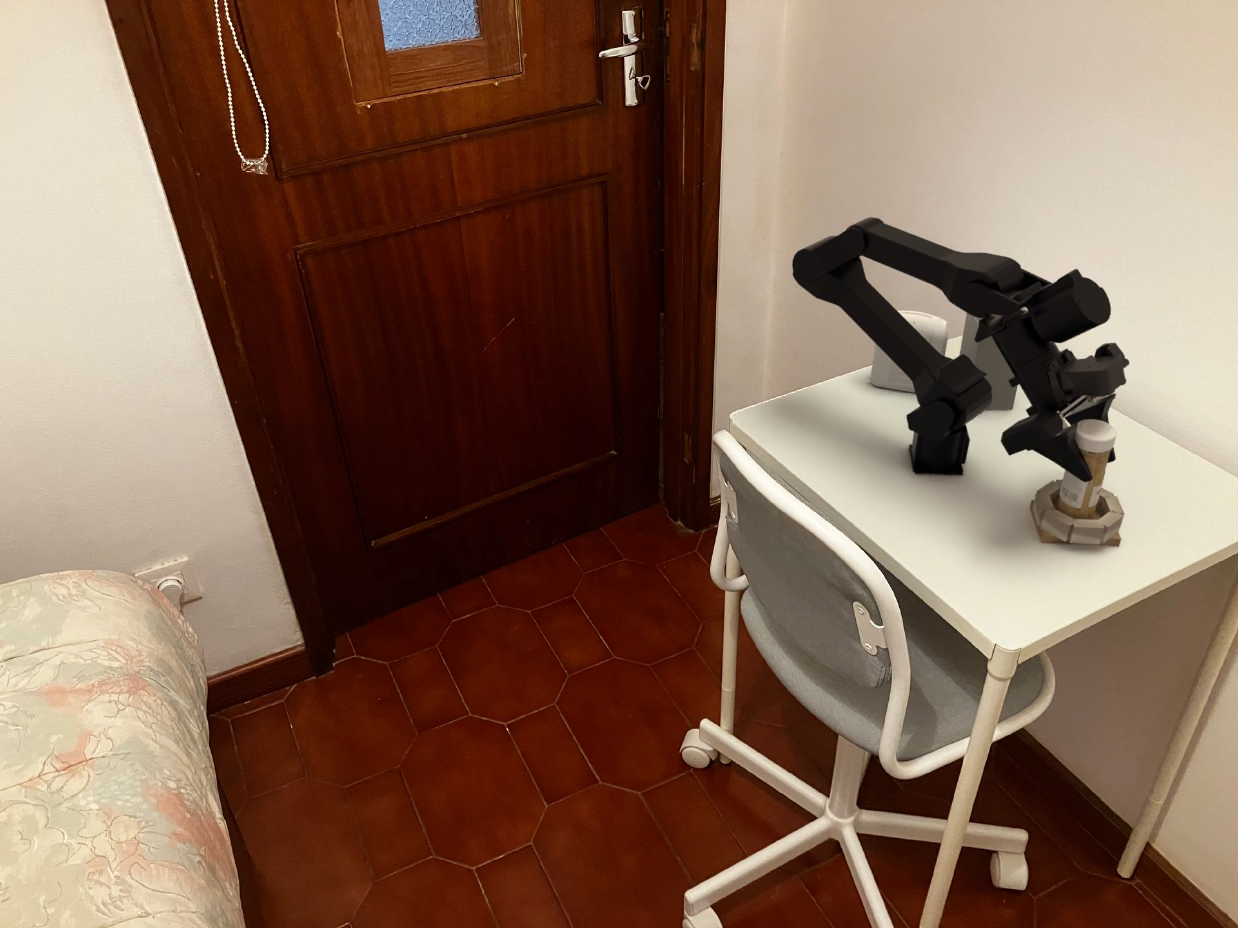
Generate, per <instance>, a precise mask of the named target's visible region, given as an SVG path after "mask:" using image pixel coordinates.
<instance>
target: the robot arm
mask: <svg viewBox="0 0 1238 928" xmlns="http://www.w3.org/2000/svg"><path fill="white" fill-rule="evenodd" d="M860 257H865V258H867V259H869V260H871V261H873V262H876V263H879V264H881V265H883V266H886V267H888V268H890V269H893V270H896V271H898V272H900V273H903V274H905V275H907V276H910V277H912V278H914V279H917V280H919V281H921V282H925V283H927V284H929V285H932V286H934V287H935V288H937V289H938V290H940V291H941V292H942V293H943V295H944V296H945V297H946V299H947V300H948V302H949V303H950V304H952V305H954V306H955V307H957V308H958V309H960V310H962V311H964V312H965V314H967V313H968V314H970V315H971V316H974V317H977V318H982V319H980V320H979V326H978V330H977V332H976V335H975V338H974V340H975V342H977V343H978V342H981V341H982V340H984V339H986V338H988V337H990V336H991V337H992V339H993V341H994V342H995V344H996V346H997V347H998V349H999V351H1000V353H1001V354H1002V356H1003V358H1004V359H1005V361H1006V363H1007V364H1008V366H1009V368H1010V370H1011V371H1012V373H1013V375H1014V377H1012V378H1011V379H1009V380H1008V381H1009V383H1010V385H1011V387H1012V388H1013V387H1015V386H1017V385H1018V386H1020V388H1021V389H1022V392H1023V394H1025V397H1026V398H1027V400H1028V402H1029V403H1030V406H1029V407H1027V408H1026V409H1025V412H1026V414H1027V415H1028V416H1027V417H1025V418H1022V419H1020V420H1017V421H1016V422H1015V423H1013V424H1012V425H1010V426H1009V427H1008V428H1007V429H1005V430H1004V431H1003V432H1001V433H1002V434H1001V438H1000V443H1001V444H1002V446H1003V448H1004V450H1005V452H1006V453H1007V455H1008V456H1009V457H1010V456H1013V455H1015V454H1017V453H1020V452H1023V451H1025V450H1026V451H1027V452H1030V451H1034V452H1035V453H1037V454H1039V455H1040V456H1042V457H1045V458H1046V459H1047V460H1049V461H1051V462H1053V463H1054V464H1056V465H1058V466H1059V467H1061V468H1062V469H1064V471H1065V470H1066V471H1068V472H1069V473H1071V474H1072V475H1074V476H1075V477H1077V478H1078V479H1080V480H1081V481H1083V482H1088V481H1091V480H1092V479H1093V477H1092V474H1091V472H1090V469H1089V467H1088V465H1087V463H1086V461H1085V459H1084V457H1083V455H1082V453H1081V451H1080V449H1079V446H1078V444H1077V442H1076V440H1075V435H1076V431H1077V426H1078V424H1077V423H1078V422H1080V421H1082V420H1087V419H1094V420H1100V421H1103V422H1106V423H1108V424H1110V421H1109V420H1110V419H1109V411H1110V408H1111V406H1112V404H1113V402H1114V400H1115V399H1116V397H1117V396H1116V395H1117V394H1116V393H1115V391H1116V390H1118V388H1119V387H1121V386H1124V385H1125V384H1127V379H1126V374H1125V370H1124V369H1125V368H1127V367H1128V366H1129V365H1130V361H1129V359H1128V358H1126V356H1125V354H1124V352H1123V351H1122V349H1121V348H1120V347H1119V346H1118V344H1117V343H1116V342H1106V343H1103V344H1101V345H1100V346H1099V347H1097V348H1096V350H1095V353H1094V355H1093V354H1092V355H1088V356H1087V357H1085V358H1077V357H1076V356H1075V355H1074V353H1073V351H1072V350H1069V348H1068V347H1067V348H1065V349H1063V350H1061V351H1060V349H1059V347H1058V346H1057V344H1063V343H1066V342H1068V341H1069V340H1072V339H1074V338H1077V337H1078V336H1081V335H1082V334H1084V333H1087V332H1089V331H1091V330H1094V329H1096V328H1098V327H1099V326H1101V325H1103V324H1105V323H1107V322H1108V321H1109V320H1110V318H1111V312H1112V307H1111V302H1110V299H1109V296H1108V294H1107V292H1106V290H1105V289H1104V287H1103V286H1100V285H1098V283H1097V282H1096V281H1094V280H1092V279H1091V278H1089V277H1086V276H1083V275H1082V273H1081V272H1080V269H1078V268H1074V269H1073V270H1071V271H1068V272H1067V273H1066V274H1064V275H1062V276H1061V277H1059V278H1058V279H1057V280H1056V281H1054V282H1051V281H1049V280H1047V279H1045V278H1043V277H1041V276H1039V275H1036V274H1034V273H1033V272H1030V271H1028V270H1026V269H1024V268H1022V266H1021V264H1020V263H1019V262H1018V261H1016V260H1015V259H1014V258H1012V257H1009V256H1005V255H1004V256H1003V255H999V254H994V253H989V252H963V251H958V250H955V249H951V248H949V247H946V246H943V245H941V244H939V243H936V242H934V241H931V240H929V239H927V238H923V237H921V236H918V235H915V234H913V233H910V232H908V231H906V230H902V229H900V228H898V227H895V226H892V225H890V224H887V223H885V222H884V221H883V220H882V219H881V218H879V217H873V216H870V217H866V218H864V219H862V220H860V221H857V222H856V223H852V224H851V225H849V226H848V227H847V228H846V230H844V231H842V232H841V233H840V234H838V235H829V236H827V237H825V238H822V239H821V240H819V241H816V242H814V243H813V244H810V245H808V246H805V247H803V248H802V249H799V250H797V252H795V254H794V256H793V258H792V265H791V267H792V277H793V279H794V281H795V282H796V283H797V284H798V286H799V287H801V288H802V289H803V290H805V291H806V292H807V293H809V294H810V295H811V296H812V297H814V298H815V299H818V300H819V301H820V300H821V301H823V302H826V303H828V304H831V305H835V306H837V307H839V308H840V309H841V310H842V311H843V312H844V313H845V314H846V315H847V316H848V318H850V319H851V320H852V321H853V322H854V323H855V324H856V325H857V326H858V328H860V330H862V331H863V332H864V333H865V334H866V335H867V336H868V338H870V340H872V342H873V343H874V344H875V343H876V344H877V345H878V347H879V348H880V349H881V350H882V351H883V352H884V353H885V354H886V355H887V356H888V357H889V358H890V359H891V360H892V361H893V362H894V363H895V364H896V365H897V366H898V367H899V368H900V369H901V370H902V371H903V372H904V373H905V374H906V375H907V376H908V377H909V378H910V379H911V381H912V382H913V386H914V390H915V398H916V402H917V404H918V405H919V406H918V407H916V408H914V409H913V410H911V411H910V412H909V413H907V414H906V422H907V427H908V430H909V431H912V432H913V435H912V442H911V444H909V445H908V453H909V457H910V464H911V467H912V472H913V474H915V475H934V476H935V475H937V476H939V475H940V476H963V474H964V468H963V467H964V466H963V465H965V464H966V463H967V457H968V452H969V447H970V441H971V438H970V435H969V431H968V427H967V424H968V423H970V422H971V421H972V420H974V419H975V418H977V417H978V416H980V415H981V414H983V413H984V412H986V411H985V410H987V409H988V408H989V406H990V405H991V402H992V387H991V385H990V383H989V382H988V381H987V380H986V379H985V378H984V377H985V376H986V375H987V374H986V373H985V372H983V371H981V370H979V369H978V368H977V367H976V366H975V365H974V364H973V362H972V361H971V360H970V358H969V357H967V356H966V355H964V354H961V355H960V354H959V355H960V356H959V355H958V356H957V357H954V358H951V357H949V356H946V355H945V356H943V355H941V354H940V353H939V352H938V351H937V350H936V349H935V348H934V347H933V346H932V345H931V344H930V343H929V342H928V341H927V340H926V339H925V338H924V337H923V336H922V335H921V334H920V333H919V332H918V331H917V330H916V329H915V328H914V327H913V326H912V325H911V324H910V323H909V322H908V321H907V320H906V319H905V318H904V317H903V316H902V315H901V314H900V313H899V312H898V311H899V310H897V309H896V308H895V307H894V306H893V305H892V304H891V303H890V302H889V301H888V300H887V299H886V298H885V297H884V296H883V295H882V294H881V293H880V291H878V290H877V289H876V288H875V287H874V286H873V285H872V284H871V283H870V282H869V280H868V279H867V278H866V273H865V269H864V265H863V261H862V258H860ZM1023 307H1025V309H1026V310H1027V311H1026V312H1025V311H1024V310H1021V309H1022V308H1023ZM992 314H994V315H1000V316H998V317H995V316H992ZM1018 386H1017V387H1018ZM1067 423H1068V424H1069V425H1068V424H1067ZM1116 458H1117V456H1116V453H1115V448H1114V446H1113V448H1112V449H1111V451H1110V454H1109V458H1108V462H1107V464H1110V463H1113V462H1115V461H1116Z"/></svg>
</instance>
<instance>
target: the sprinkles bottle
mask: <svg viewBox="0 0 1238 928" xmlns="http://www.w3.org/2000/svg"><path fill="white" fill-rule="evenodd" d="M1077 424H1078V426H1077V431H1076V435H1075V440H1076V442H1077V444H1078V446H1079V449H1080V451H1081V453H1082V455H1083V457H1084V459H1085V461H1086V463H1087V465H1088V467H1089V469H1090V472H1091V474H1092V477H1093V479H1092V480H1091V481H1088V482H1083V481H1081V480H1080V479H1078V478H1077V477H1075V476H1074V475H1072V474H1071V473H1069V472H1068V471H1066V470H1065V469H1064V474H1063V477H1062V480H1063V481H1062V485H1061V490H1060V497H1059V502H1058V506H1057V509H1056V510H1058V511H1060V512H1062V513H1064V514H1066V515H1068V516H1070V517H1072V518H1073V519H1086V520H1094V513H1095V509H1096V505H1097V502H1098V500H1099V496H1100V491H1101V488H1103V483H1104V479H1105V475H1106V470H1107V469H1106V468H1107V465H1108V463H1107V462H1108V458H1109V454H1110V451H1111V449H1112V448H1113V447H1114V446H1115V443H1116V438H1117V431H1116V429H1115V427H1114V426H1113V425H1112V424H1110V423H1109V424H1108V423H1106V422H1103V421H1100V420H1094V419H1087V420H1082V421H1080V422H1078V423H1077Z"/></svg>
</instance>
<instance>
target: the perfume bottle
mask: <svg viewBox="0 0 1238 928" xmlns="http://www.w3.org/2000/svg"><path fill="white" fill-rule="evenodd" d="M1021 310H1024V311H1025V312H1026V311H1028V310H1027V308H1026V307H1023V308H1022V309H1021ZM992 316H995V317H998V316H1000V315H994V314H992ZM980 319H982V318H977V317H974V316H971V315H970V314H968V313H965V320H964V321H965V322H964V327H963V331H962V332H963V333H962V338H961V344H960V350H959V355H958V356H960V355H961V354H964V355H966V356H967V357H969V358H970V360H971V361H972V362H973V364H974V365H975V366H976V367H977V368H978V369H979V370H981V371H983V372H985V373H986V374H987V375H986V376H985V377H984V378H985V379H986V380H987V381H988V382H989V383H990V385H991V387H992V402H991V405H990V406H989V408H988V409H987V410H985V411H984V412H987V411H1013V409H1014V404H1015V401H1016V394H1017V390H1018V386H1019V385H1017V386H1015V387H1013V388H1012V387H1011V385H1010V383H1009V381H1008V380H1009V379H1011V378H1012V377H1014V375H1013V373H1012V371H1011V370H1010V368H1009V366H1008V364H1007V363H1006V361H1005V359H1004V358H1003V356H1002V354H1001V353H1000V351H999V349H998V347H997V346H996V344H995V342H994V341H993V339H992V337H991V336H990V337H988V338H986V339H984V340H982V341H981V342H978V343H977V342H975V340H974V338H975V335H976V332H977V330H978V326H979V320H980Z"/></svg>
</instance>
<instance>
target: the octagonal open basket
mask: <svg viewBox="0 0 1238 928" xmlns="http://www.w3.org/2000/svg"><path fill="white" fill-rule="evenodd" d="M1062 481H1063V479H1056V480H1054V479H1052V480H1051V481H1050V482H1048V483H1046V484H1045V485H1044V486H1042V487H1041V488H1039V489H1037V490H1036V493H1035V495H1034V496H1035V497H1034V499H1033V500H1031V501H1030V504H1029V511H1030V514H1031V516H1032V519H1033V522H1034V525H1035V529H1036V531H1037V535H1038V537H1039V540H1040V542H1041V544H1057V545H1077V546H1079V545H1080V546H1100V547H1103V546H1105V547H1120V544H1121V541H1122V537H1121V535H1120V533H1119V532H1120V530H1121V526H1122V523H1123V519H1124V516H1125V512H1124V511H1125V510H1124V509H1123V506H1122V504H1121V503H1120V500H1119V498H1118V496H1116V495H1115V494H1114V493H1113V492H1111V491H1109V490H1108V489H1105V488H1103V487H1101V491H1100V496H1099V500H1098V502H1097V505H1096V509H1095V513H1094V520H1086V519H1073V518H1072V517H1070V516H1068V515H1066V514H1064V513H1062V512H1060V511H1058V510H1056V509H1057V506H1058V502H1059V497H1060V490H1061V485H1062Z"/></svg>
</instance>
